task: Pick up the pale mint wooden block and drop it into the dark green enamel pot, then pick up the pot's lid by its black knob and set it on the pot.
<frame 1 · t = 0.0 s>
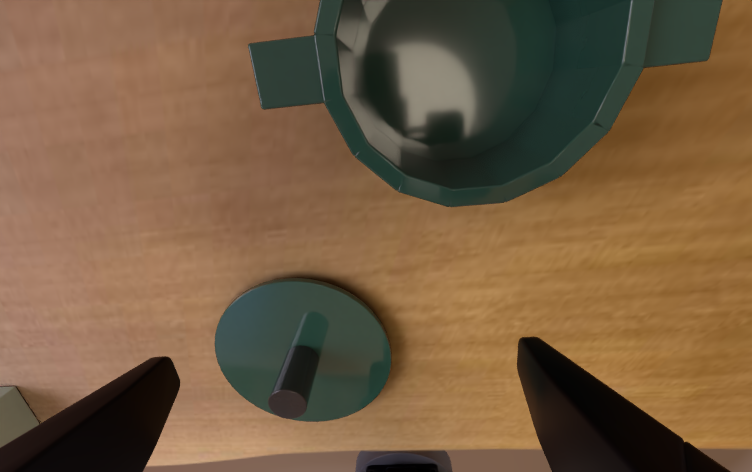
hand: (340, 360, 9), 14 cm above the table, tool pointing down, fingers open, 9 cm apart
lid: (304, 353, 26), point 1 cm above the table
pot: (451, 61, 18), on the table
block: (4, 406, 30), on the table
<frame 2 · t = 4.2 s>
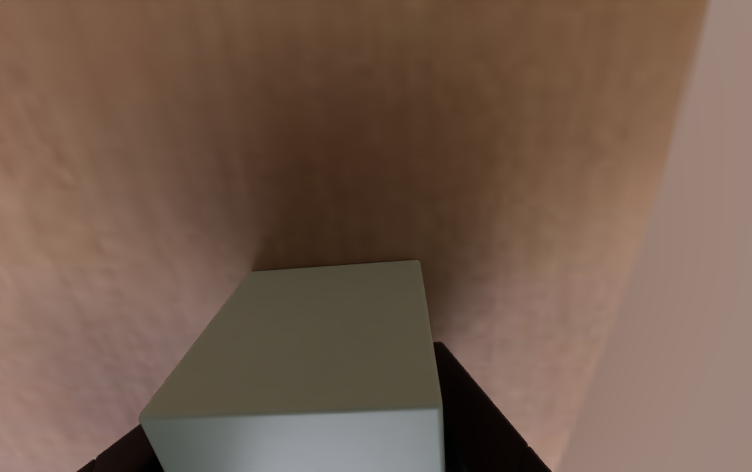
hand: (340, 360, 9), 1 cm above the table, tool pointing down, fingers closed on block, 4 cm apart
block: (344, 335, 10), on the table, touching gripper
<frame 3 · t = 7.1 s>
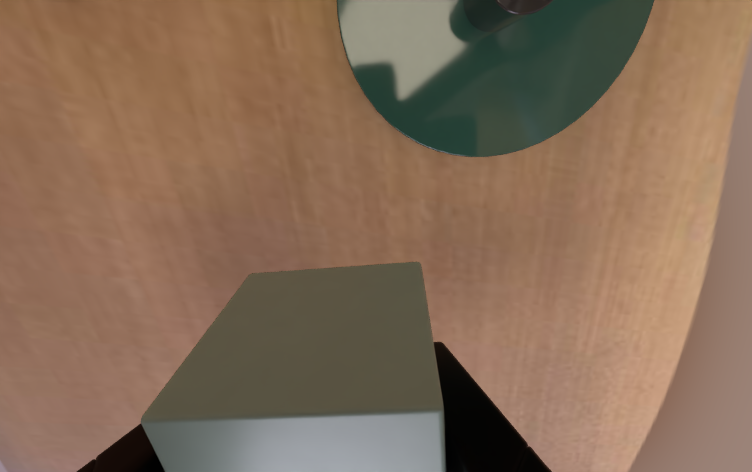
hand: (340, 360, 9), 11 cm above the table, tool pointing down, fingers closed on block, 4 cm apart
lid: (490, 0, 15), point 1 cm above the table
block: (345, 336, 10), point 10 cm above the table, touching gripper
when the fingers open (7 cm above the table, at t = 10.4 s): block drops 6 cm, resting on pot.
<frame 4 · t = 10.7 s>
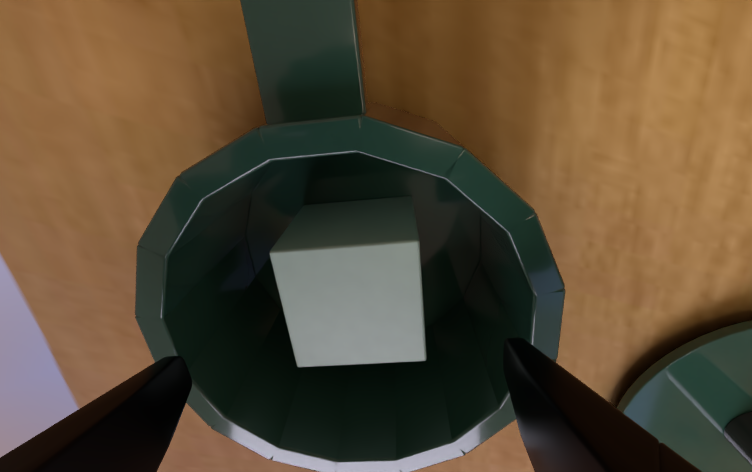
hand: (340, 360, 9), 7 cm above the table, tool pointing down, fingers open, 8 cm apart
lid: (740, 419, 18), point 1 cm above the table
pot: (363, 243, 16), on the table
block: (363, 249, 15), resting on pot
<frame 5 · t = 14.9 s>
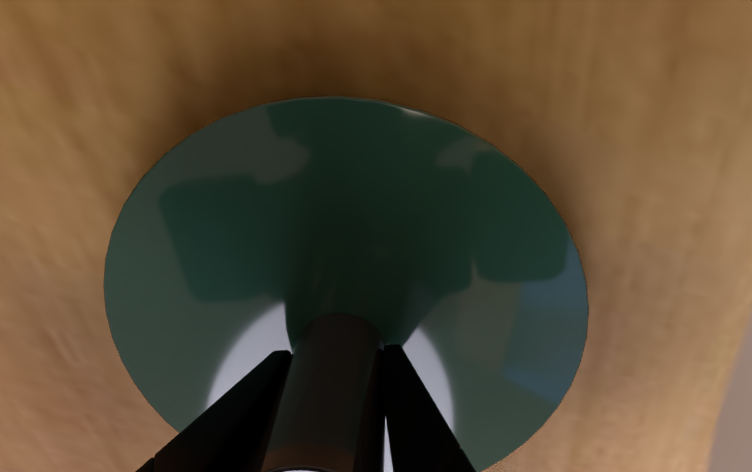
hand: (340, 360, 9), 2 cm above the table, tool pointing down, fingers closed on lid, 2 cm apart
lid: (344, 337, 10), point 1 cm above the table, touching gripper
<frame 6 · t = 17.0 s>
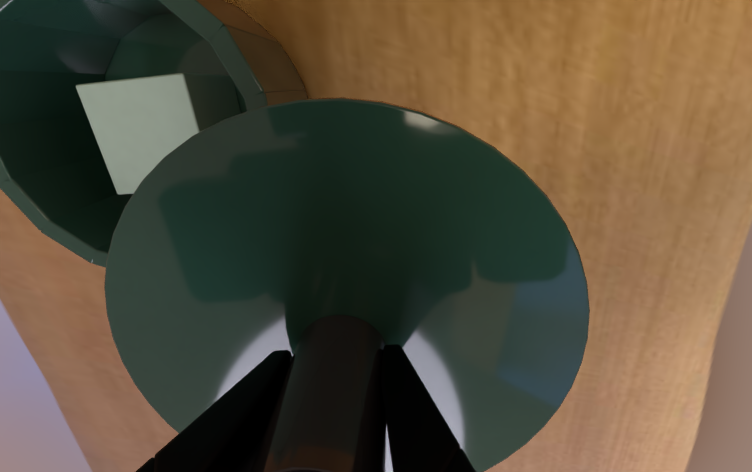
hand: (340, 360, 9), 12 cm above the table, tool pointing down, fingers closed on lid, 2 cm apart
lid: (345, 338, 10), point 11 cm above the table, touching gripper
pot: (205, 123, 19), on the table
block: (202, 126, 19), resting on pot
when the fingers open (7 cm above the table, at t = 19.3 s): lid stays where it is, resting on pot.
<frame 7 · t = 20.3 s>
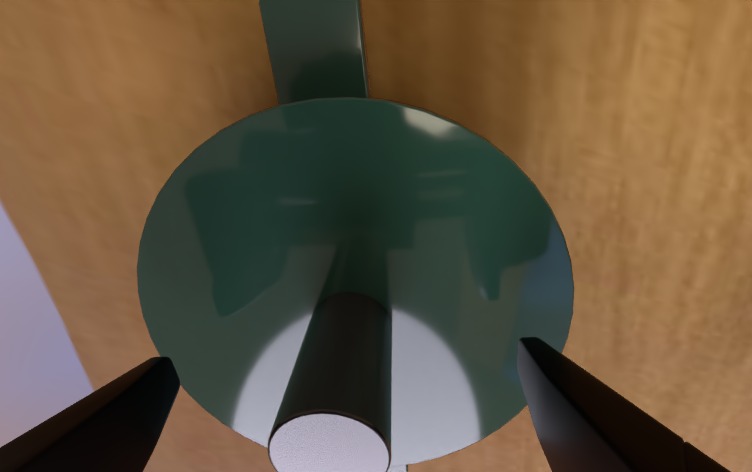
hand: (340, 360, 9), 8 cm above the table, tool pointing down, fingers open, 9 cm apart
lid: (353, 316, 11), point 6 cm above the table, touching pot
pot: (365, 233, 17), on the table
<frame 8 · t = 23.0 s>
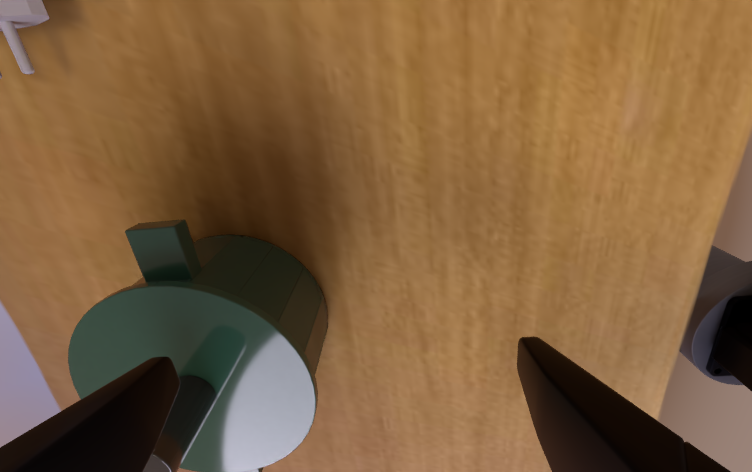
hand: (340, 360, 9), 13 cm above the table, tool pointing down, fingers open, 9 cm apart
lid: (198, 385, 19), point 6 cm above the table, touching pot
pot: (244, 312, 24), on the table
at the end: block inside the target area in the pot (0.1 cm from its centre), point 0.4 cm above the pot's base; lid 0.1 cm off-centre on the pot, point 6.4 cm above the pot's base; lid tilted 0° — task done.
